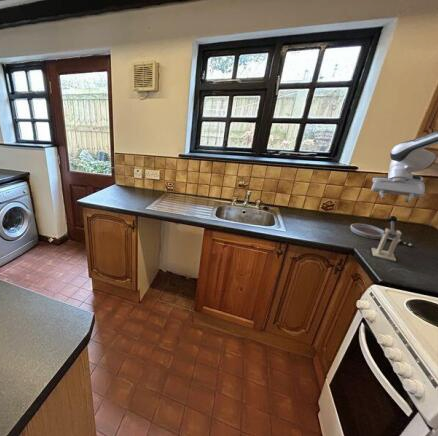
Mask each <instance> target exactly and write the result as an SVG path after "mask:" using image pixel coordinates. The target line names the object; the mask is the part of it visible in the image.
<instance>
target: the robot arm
mask: <svg viewBox="0 0 438 436" xmlns="http://www.w3.org/2000/svg"><path fill="white" fill-rule="evenodd" d="M436 145H438V130H435V131H432V132H430V133H427V134H424V135H421V136H419V137H416V138H413V139H410V140H407V141H402V142H400V143H398V144H396V145H394V146H392V148H391V150H390V152H389V156H390V159H391V161H390V164H389V167H388V169H389V171H388V174H387V177H386V176H374V177H373V178H372V186H371V188H370V190H371V191H372V192H374V193H378V194H379V196H380V199H381V200H386V197H387V196H386V194H390V195H397V196H406V198H404V203H408V204H409V203H410V202H411V200H412V199H413V198H414V197H415V198H421V197H423V196H424V195H425V192H426V185H425V182H424V177H423V176H420V175H417V174H414V173H416V172H420V171H423V170H426V169H429V168H431V167H432V166H433V165H434V164H435V162H436V159H437V155H436V153H434V152H432V151H430V150H427V149H426V148H429V147H432V146H436Z"/></svg>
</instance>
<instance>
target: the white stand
mask: <svg viewBox="0 0 438 436" xmlns="http://www.w3.org/2000/svg"><path fill="white" fill-rule="evenodd" d="M383 231H384V233H383V236H382V239H380V241H379V243H378V245H377V248H376V247H371V254H372V256H373V257H376V258H380V259H384V260H389V261H392V262H397V259H396V256H395V254H394V253H395V252H394V251H395V249H396V248H397V245H398V244H399V243H398V241H399V239H400V240H401V237H402V232H401V231H400V230H398V229H396V230H395V231H396V236H395V238H392V239H393V240H391V243H390V245H389V248H388V250H383V249H384V247H385V244H386V243H387V240H388V239H387V238H388V235H389V233H390V228H387V227H386V228H385V229H384V230H383Z"/></svg>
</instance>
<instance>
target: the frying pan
mask: <svg viewBox="0 0 438 436" xmlns="http://www.w3.org/2000/svg"><path fill="white" fill-rule="evenodd" d="M350 231H351V232H352V233H354V234H355V235H357V236H361V237H364V238H367V239H372V240H381V239H382V236H383V233H384V231H385V230H383V229H382V228H379V227H377V226H373V225H371V224H365V223H352V224H351V225H350ZM387 240H390V241H393V238H390V237H388V238H387ZM399 243H401V244H403V245H407V246H408V247H412V246H413V244H412V243H409V242H408V243H407V242H405V241H402V239H401V238H400V239H399V241H398V243H397V244H399Z"/></svg>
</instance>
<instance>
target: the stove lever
mask: <svg viewBox="0 0 438 436" xmlns="http://www.w3.org/2000/svg"><path fill="white" fill-rule="evenodd" d="M387 222H388V223H389V225H390V226H389V230H390V233H389V235H388V237H389V238H392V239H393V238H395V236H396V231H397V230H395V223H397V222H398V217H396V216H395V215H389V216H388V217H387Z"/></svg>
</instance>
